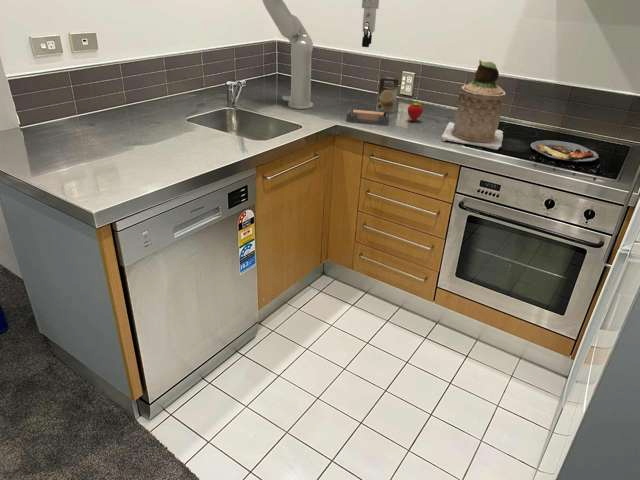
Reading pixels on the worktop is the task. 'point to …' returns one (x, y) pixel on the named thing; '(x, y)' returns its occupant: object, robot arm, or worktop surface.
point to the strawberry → (415, 111)
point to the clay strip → (368, 115)
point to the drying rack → (353, 118)
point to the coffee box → (387, 94)
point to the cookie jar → (478, 111)
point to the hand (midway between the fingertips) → (366, 45)
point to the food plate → (564, 151)
